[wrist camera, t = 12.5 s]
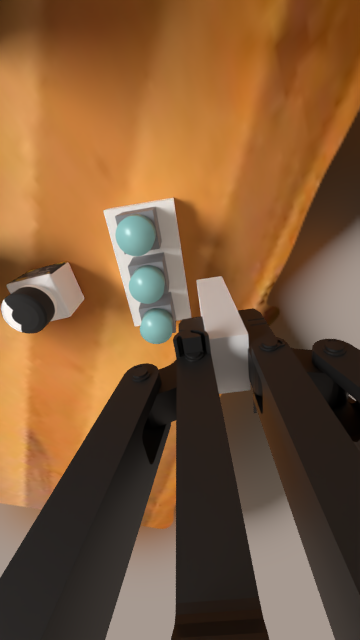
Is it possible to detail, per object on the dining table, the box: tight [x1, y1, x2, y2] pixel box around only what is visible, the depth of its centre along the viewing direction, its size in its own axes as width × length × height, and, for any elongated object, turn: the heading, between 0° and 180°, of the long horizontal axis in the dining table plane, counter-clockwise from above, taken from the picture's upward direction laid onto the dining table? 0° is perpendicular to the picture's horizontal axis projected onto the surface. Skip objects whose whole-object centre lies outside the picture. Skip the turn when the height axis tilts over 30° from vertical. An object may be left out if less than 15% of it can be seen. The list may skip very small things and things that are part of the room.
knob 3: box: [140, 308, 173, 344], centre depth 41 cm, size 5×5×8 cm
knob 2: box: [129, 265, 165, 304], centre depth 38 cm, size 5×5×8 cm
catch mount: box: [104, 197, 191, 333], centre depth 40 cm, size 10×19×8 cm, turn 9°
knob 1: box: [115, 214, 156, 256], centre depth 35 cm, size 5×5×8 cm
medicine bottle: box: [1, 262, 84, 333], centre depth 40 cm, size 7×7×12 cm
